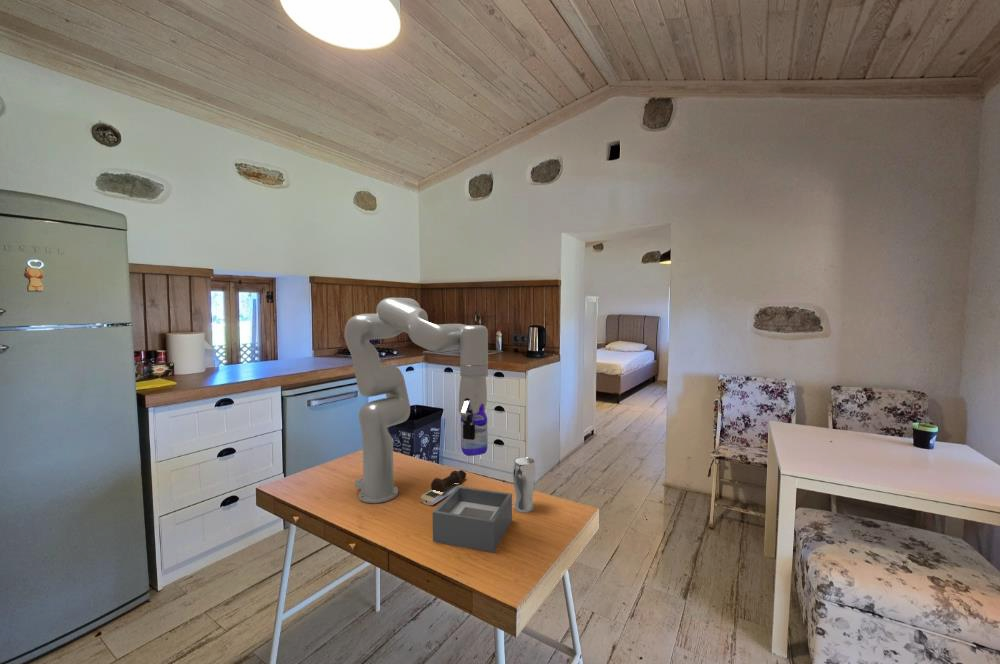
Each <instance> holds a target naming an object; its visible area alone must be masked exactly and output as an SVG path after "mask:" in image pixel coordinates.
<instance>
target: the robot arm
mask: <svg viewBox="0 0 1000 664" xmlns="http://www.w3.org/2000/svg"><path fill="white" fill-rule="evenodd" d="M375 310H376V313H361V314H356V315H353V316H352V317H350V318H349V319H347V320H348V321H347V322H346V324H345V326H344V327H345V328H344V340H345V343H346V346H347V349H348V352H350V357H351V360H352V363H353V371H354V375H355V380H356V384H357V388H358V391H359V394H360V395H361V396H363V397H365V398H371V397H377V396H381V395H385V397H384V398H379V399H375V400H372V401H368V402H366V403H365V404H363V406H361V407H360V409H359V411H358V412H359V413H358V418H359V419H358V420H359V425H360V429H361V435H362V467H363V469H362V473H363V474H362V475H363V477H362V478H356V480H355V483H354V485H353V486H354V488H359V489H360V491H359V492H358V499H359V500H360V501H361V502H363V503H367V504H379V503H380V504H381V503H384V502H385V503H386V502H388V501H390V500H394V498H396V497H397V496H398V494H399V487H398V486H396V485H395V484H394V442H393V437H392V435H391V433H389V430H388V428H389V427H392V426H396V425H399V424H402V423H404V422H406V421H407V420H408V419H409V417H410V415H411V405H410V399H409V395H408V390H407V386H406V380H405V377H404V375H403V372H402V371H401V369H400V368H399V367H397V366H396V365H391V364H388V365H382V364H381V360H380V355H379V352H378V350H377V348H376V347H375V346H374V345H373V343H371V342H370V340H383V339H384V340H385V339H392V338H395V337H396V336H398V335H400V334H403V332H404V333H406V334H407V335H408V337H409V338H410V340H411V342H412V343H414V344H415V345H416V346H418V347H421V348H423V349H425V350H427V351H430V352H432V353H433V352H434V353H444V352H445V353H446V352H450V351H451V352H453V351H460V353H459V354H460V355H459V357H460V361H459V364H460V365H459V367H460V368H459V370H460V371H459V374H460V383H459V390H458V391H459V392H458V393H459V394H458V413H459V414H460V418H461V417H462V421H463V422H462V424H463V439H469V440H474V439H475V425H474V418H475V414H477V413H478V412H479V408H480V406H481V404H482V403H483V405H484V411H485V410H486V407H487V402H488V398H487V397H488V396H487V395H488V394H487V391H488V390H487V377H488V376H489V374H488V373H489V330H488V328H487V327H486V326H485V325H481V324H480V325H478V324H477V325H475V324H473V325H471V324H470V325H469V324H468V325H467V324H463V323H443V324H437V323H432V322H430V321H429V317H428V313H427V312H426V310H425V309H423V308H421V305H420V304H419V302H418V301H417V300H415V299H413V298H410V297H386V298H384V299H382V300H380V301H379V303H378V304H377V305H376V309H375ZM468 411H472V413H468ZM469 416H471V419H470V417H469Z"/></svg>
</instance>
